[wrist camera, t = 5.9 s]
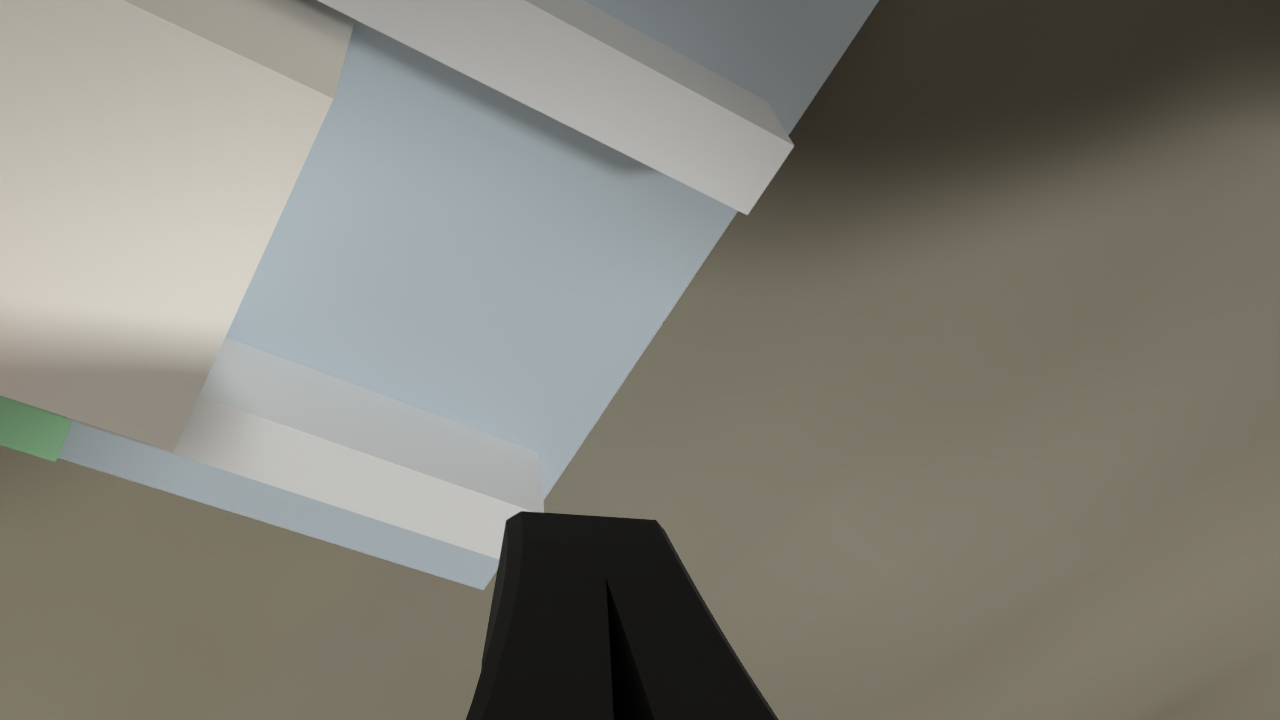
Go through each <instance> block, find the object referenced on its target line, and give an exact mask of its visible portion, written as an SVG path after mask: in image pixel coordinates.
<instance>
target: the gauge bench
mask: <svg viewBox="0 0 1280 720" xmlns="http://www.w3.org/2000/svg"><path fill="white" fill-rule="evenodd" d="M317 1H319V2H321V3H323V4H325V5H327V6H329V7H331V8H333V9H335V10H337V11H339V12H341V13H343V14H345V15H347V16H349V17H351V18H353V19H355V23H354V26H353V30H352V34H351V37H350V41H349V45H348V48H347V52H346V55H345V59H344V63H343V66H342V70H341V74H340V77H339V81H338V85H337V88H336V92H335V95H334V99H333V101H332V103H331V106H330V108H329V110H328V112H327V114H326V117H325V119H324V121H323V123H322V125H321V128H320V130H319V132H318V134H317V136H316V139H315V141H314V143H313V145H312V147H311V150H310V152H309V154H308V156H307V158H306V161H305V163H304V165H303V167H302V169H301V172H300V174H299V176H298V178H297V181H296V183H295V185H294V187H293V189H292V192H291V194H290V196H289V198H288V200H287V203H286V205H285V207H284V209H283V211H282V214H281V216H280V218H279V220H278V222H277V225H276V227H275V229H274V231H273V233H272V236H271V238H270V240H269V242H268V244H267V247H266V249H265V251H264V253H263V255H262V258H261V260H260V262H259V264H258V266H257V269H256V271H255V273H254V275H253V277H252V280H251V282H250V284H249V286H248V288H247V291H246V293H245V295H244V297H243V299H242V302H241V304H240V306H239V308H238V310H237V313H236V315H235V317H234V319H233V322H232V324H231V326H230V328H229V330H228V333H227V335H226V337H225V339H224V341H223V344H222V346H221V348H220V350H219V352H218V355H217V357H216V359H215V361H214V363H213V366H212V368H211V370H210V372H209V374H208V377H207V379H206V381H205V383H204V385H203V388H202V390H201V392H200V394H199V396H198V399H197V401H196V403H195V405H194V407H193V410H192V412H191V414H190V416H189V418H188V421H187V423H186V425H185V427H184V429H183V432H182V434H181V436H180V438H179V440H178V443H177V445H176V447H175V449H174V451H170V450H167V449H163V448H160V447H157V446H154V445H151V444H148V443H145V442H142V441H139V440H136V439H133V438H130V437H127V436H124V435H120V434H117V433H114V432H111V431H108V430H105V429H102V428H99V427H96V426H93V425H90V424H87V423H84V422H80V421H77V420H74V419H71V418H68V417H65V416H62V415H59V414H56V413H53V412H50V411H47V410H44V409H41V408H37V407H34V406H31V405H28V404H25V403H22V402H19V401H16V400H13V399H10V398H7V397H4V396H1V395H0V445H1V446H5V447H8V448H11V449H14V450H18V451H21V452H24V453H27V454H31V455H34V456H37V457H40V458H43V459H47V460H50V461H53V462H56V460H57V458H60V459H63V460H67V461H70V462H73V463H76V464H79V465H83V466H86V467H89V468H92V469H95V470H99V471H102V472H105V473H108V474H112V475H115V476H118V477H121V478H124V479H128V480H131V481H134V482H137V483H140V484H144V485H147V486H150V487H153V488H156V489H160V490H163V491H166V492H169V493H173V494H176V495H179V496H182V497H185V498H189V499H192V500H195V501H198V502H201V503H205V504H208V505H211V506H214V507H218V508H221V509H224V510H227V511H230V512H234V513H237V514H240V515H243V516H246V517H250V518H253V519H256V520H259V521H263V522H266V523H269V524H272V525H275V526H279V527H282V528H285V529H288V530H291V531H295V532H298V533H301V534H304V535H307V536H311V537H314V538H317V539H320V540H324V541H327V542H330V543H333V544H336V545H340V546H343V547H346V548H349V549H352V550H356V551H359V552H362V553H365V554H369V555H372V556H375V557H378V558H381V559H385V560H388V561H391V562H394V563H397V564H401V565H404V566H407V567H410V568H414V569H417V570H420V571H423V572H426V573H430V574H433V575H436V576H439V577H442V578H446V579H449V580H452V581H455V582H458V583H462V584H465V585H468V586H471V587H475V588H478V589H481V590H484V589H485V587H486V586H487V584H488V583H489V581H490V580H491V578H492V577H493V575H494V574H495V572H496V571H497V569H498V565H499V559H500V553H501V547H502V542H503V536H504V530H505V524H506V520H507V519H509V518H511V517H512V516H514V515H516V514H517V513H519V512H520V511H526V512H541V513H544V506H543V501H544V499H545V498H546V496H547V495H548V493H549V492H550V490H551V489H552V487H553V486H554V484H555V483H556V481H557V480H558V478H559V477H560V475H561V474H562V472H563V471H564V469H565V468H566V466H567V465H568V464H569V462H570V461H571V459H572V458H573V456H574V455H575V453H576V452H577V450H578V449H579V447H580V446H581V444H582V443H583V441H584V440H585V438H586V437H587V435H588V434H589V432H590V431H591V429H592V428H593V426H594V425H595V423H596V422H597V420H598V419H599V417H600V416H601V414H602V413H603V411H604V410H605V408H606V407H607V405H608V404H609V402H610V401H611V399H612V398H613V396H614V395H615V393H616V392H617V390H618V389H619V387H620V386H621V385H622V383H623V382H624V380H625V379H626V377H627V376H628V374H629V373H630V371H631V370H632V368H633V367H634V365H635V364H636V362H637V361H638V359H639V358H640V356H641V355H642V353H643V352H644V350H645V349H646V347H647V346H648V344H649V343H650V341H651V340H652V338H653V337H654V335H655V334H656V332H657V331H658V329H659V328H660V326H661V325H662V323H663V322H664V320H665V319H666V317H667V316H668V314H669V313H670V311H671V310H672V309H673V307H674V306H675V304H676V303H677V301H678V300H679V298H680V297H681V295H682V294H683V292H684V291H685V289H686V288H687V286H688V285H689V283H690V282H691V280H692V279H693V277H694V276H695V274H696V273H697V271H698V270H699V268H700V267H701V265H702V264H703V262H704V261H705V259H706V258H707V256H708V255H709V253H710V252H711V250H712V249H713V247H714V246H715V244H716V243H717V241H718V240H719V238H720V237H721V235H722V234H723V233H724V231H725V230H726V228H727V227H728V225H729V224H730V222H731V221H732V219H733V218H734V216H735V215H736V213H737V212H738V211H739V212H741V213H743V214H745V215H748V214H749V212H750V211H751V209H752V208H753V206H754V205H755V203H756V202H757V201H758V199H759V198H760V196H761V195H762V193H763V192H764V190H765V189H766V187H767V186H768V184H769V183H770V181H771V180H772V178H773V177H774V175H775V174H776V172H777V171H778V169H779V168H780V167H781V165H782V164H783V162H784V161H785V159H786V158H787V156H788V155H789V153H790V152H791V150H792V149H793V147H794V144H793V143H792V141H791V139H790V138H789V134H790V133H791V131H792V130H793V128H794V127H795V125H796V124H797V122H798V121H799V119H800V118H801V116H802V115H803V113H804V112H805V110H806V109H807V107H808V106H809V104H810V103H811V101H812V100H813V98H814V97H815V95H816V94H817V92H818V91H819V89H820V88H821V86H822V85H823V83H824V82H825V80H826V79H827V78H828V76H829V75H830V73H831V72H832V70H833V69H834V67H835V66H836V64H837V63H838V61H839V60H840V58H841V57H842V55H843V54H844V52H845V51H846V49H847V48H848V46H849V45H850V43H851V42H852V40H853V39H854V37H855V36H856V34H857V33H858V31H859V30H860V28H861V27H862V25H863V24H864V22H865V21H866V19H867V18H868V16H869V15H870V13H871V12H872V10H873V9H874V7H875V6H876V4H877V3H878V2H879V0H317Z"/></svg>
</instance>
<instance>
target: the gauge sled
mask: <svg viewBox="0 0 1280 720" xmlns="http://www.w3.org/2000/svg"><path fill="white" fill-rule="evenodd" d="M354 23H355V19H353V18H351V17H349V16H347V15H345V14H343V13H341V12H339V11H337V10H335V9H333V8H331V7H329V6H327V5H325V4H323V3H321V2H319V1H317V0H0V395H1V396H4V397H7V398H10V399H13V400H16V401H19V402H22V403H25V404H28V405H31V406H34V407H37V408H41V409H44V410H47V411H50V412H53V413H56V414H59V415H62V416H65V417H68V418H71V419H74V420H77V421H80V422H84V423H87V424H90V425H93V426H96V427H99V428H102V429H105V430H108V431H111V432H114V433H117V434H120V435H124V436H127V437H130V438H133V439H136V440H139V441H142V442H145V443H148V444H151V445H154V446H157V447H160V448H163V449H167V450H170V451H174V449H175V447H176V445H177V443H178V440H179V438H180V436H181V434H182V432H183V429H184V427H185V425H186V423H187V421H188V418H189V416H190V414H191V412H192V410H193V407H194V405H195V403H196V401H197V399H198V396H199V394H200V392H201V390H202V388H203V385H204V383H205V381H206V379H207V377H208V374H209V372H210V370H211V368H212V366H213V363H214V361H215V359H216V357H217V355H218V352H219V350H220V348H221V346H222V344H223V341H224V339H225V337H226V335H227V333H228V330H229V328H230V326H231V324H232V322H233V319H234V317H235V315H236V313H237V310H238V308H239V306H240V304H241V302H242V299H243V297H244V295H245V293H246V291H247V288H248V286H249V284H250V282H251V280H252V277H253V275H254V273H255V271H256V269H257V266H258V264H259V262H260V260H261V258H262V255H263V253H264V251H265V249H266V247H267V244H268V242H269V240H270V238H271V236H272V233H273V231H274V229H275V227H276V225H277V222H278V220H279V218H280V216H281V214H282V211H283V209H284V207H285V205H286V203H287V200H288V198H289V196H290V194H291V192H292V189H293V187H294V185H295V183H296V181H297V178H298V176H299V174H300V172H301V169H302V167H303V165H304V163H305V161H306V158H307V156H308V154H309V152H310V150H311V147H312V145H313V143H314V141H315V139H316V136H317V134H318V132H319V130H320V128H321V125H322V123H323V121H324V119H325V117H326V114H327V112H328V110H329V108H330V106H331V103H332V101H333V99H334V95H335V92H336V88H337V85H338V81H339V77H340V74H341V70H342V66H343V63H344V59H345V55H346V52H347V48H348V45H349V41H350V37H351V34H352V30H353V26H354Z"/></svg>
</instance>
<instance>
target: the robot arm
mask: <svg viewBox="0 0 1280 720" xmlns="http://www.w3.org/2000/svg"><path fill="white" fill-rule="evenodd" d="M466 720H778V718H777V717H776V715H775V714H774V712H773V711H772V709H771V708H770V706H769V704H768V703H767V701H766V700H765V698H764V697H763V695H762V694H761V692H760V691H759V689H758V688H757V686H756V685H755V683H754V682H753V680H752V679H751V677H750V676H749V674H748V673H747V671H746V669H745V668H744V666H743V665H742V663H741V662H740V660H739V658H738V657H737V655H736V653H735V652H734V650H733V649H732V647H731V645H730V644H729V642H728V641H727V639H726V637H725V636H724V634H723V632H722V631H721V629H720V627H719V626H718V624H717V622H716V621H715V619H714V617H713V615H712V614H711V612H710V610H709V609H708V607H707V605H706V604H705V602H704V600H703V599H702V597H701V595H700V593H699V592H698V590H697V588H696V586H695V585H694V583H693V581H692V579H691V578H690V576H689V574H688V572H687V570H686V569H685V567H684V565H683V563H682V561H681V560H680V558H679V556H678V554H677V552H676V551H675V549H674V547H673V545H672V543H671V541H670V539H669V538H668V536H667V534H666V532H665V530H664V529H663V528H662V527H661V526H660V524H659V523H658V522H657V521H656V520H646V519H631V518H616V517H601V516H586V515H571V514H556V513H541V512H526V511H520V512H519V513H517V514H516V515H514V516H512V517H511V518H509V519H507V520H506V524H505V530H504V536H503V542H502V547H501V553H500V559H499V565H498V571H497V577H496V582H495V588H494V594H493V600H492V606H491V612H490V617H489V623H488V629H487V635H486V641H485V647H484V652H483V658H482V670H481V674H480V678H479V681H478V684H477V688H476V691H475V694H474V698H473V701H472V704H471V707H470V710H469V712H468V715H467V718H466Z"/></svg>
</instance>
